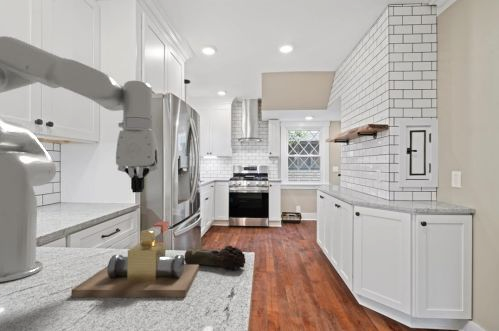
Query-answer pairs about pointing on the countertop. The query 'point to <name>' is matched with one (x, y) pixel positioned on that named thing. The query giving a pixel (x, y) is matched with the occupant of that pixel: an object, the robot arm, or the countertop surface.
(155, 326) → the countertop surface
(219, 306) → the countertop surface
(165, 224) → the valve lever
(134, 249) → the pipe and valve
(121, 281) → the mounting board
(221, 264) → the olive brown elongated lump
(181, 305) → the countertop surface
